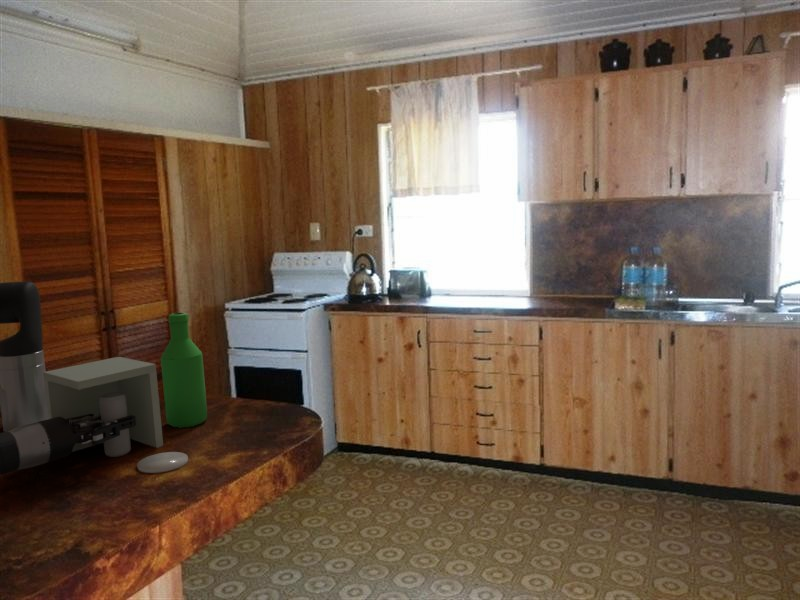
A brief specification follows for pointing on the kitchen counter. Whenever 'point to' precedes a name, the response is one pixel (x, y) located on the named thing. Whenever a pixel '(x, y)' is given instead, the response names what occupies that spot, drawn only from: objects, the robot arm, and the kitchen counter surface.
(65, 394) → the shelf housing
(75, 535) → the kitchen counter surface
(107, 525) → the kitchen counter surface
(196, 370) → the bottle
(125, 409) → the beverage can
